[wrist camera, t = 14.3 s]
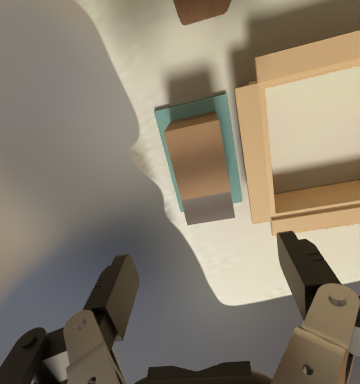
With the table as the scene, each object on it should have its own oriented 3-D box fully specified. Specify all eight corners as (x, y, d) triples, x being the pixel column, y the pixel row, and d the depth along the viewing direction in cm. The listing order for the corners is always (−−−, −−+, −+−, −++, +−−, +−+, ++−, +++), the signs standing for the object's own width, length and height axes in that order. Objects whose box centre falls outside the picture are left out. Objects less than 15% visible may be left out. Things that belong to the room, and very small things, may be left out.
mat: (154, 111, 28) (154, 111, 27) (226, 93, 26) (226, 94, 26) (181, 210, 33) (180, 212, 32) (241, 199, 31) (242, 201, 31)
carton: (225, 66, 25) (231, 63, 21) (439, 10, 22) (499, -7, 18) (247, 216, 32) (254, 238, 28) (410, 190, 29) (448, 210, 25)
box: (170, 121, 27) (163, 132, 22) (215, 111, 27) (218, 119, 21) (189, 199, 31) (187, 225, 26) (228, 192, 31) (235, 217, 25)
